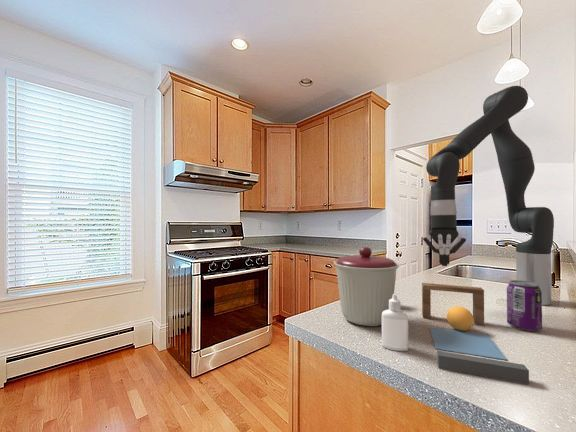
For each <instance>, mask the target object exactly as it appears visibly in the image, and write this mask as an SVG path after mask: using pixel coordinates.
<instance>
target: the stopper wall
mask: <svg viewBox="0 0 576 432" xmlns="http://www.w3.org/2000/svg"><path fill="white" fill-rule="evenodd" d="M436 355H437V356H436V360H437V362H436V363H437V367H438V369H442V370H447V371H451V372H458V373H463V374H470V375H473V376H480V377H484V378H490V379H491V378H492V379H495V380H496V379H497V380H502V381H506V382H513V383H518V384H523V385H528V384H529V385H530V370H529V369H528V368H527V366H526V365H525V364H523V363H515V362H509V361H505V360H499V359H493V358H487V357H480V356H474V355H468V354H462V353H456V352H449V351H443V350H436Z"/></svg>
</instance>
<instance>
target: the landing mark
mask: <svg viewBox="0 0 576 432" xmlns="http://www.w3.org/2000/svg"><path fill="white" fill-rule="evenodd" d="M429 330H430V335H431V337H432V341H433V344H434V348H435V350H437V351H443V352H449V353H456V354H462V355H468V356H474V357H481V358H487V359H493V360H499V361H508V358H507V357H506V355H505V354H504V353H503V352H502V351H501V350H500V348H499V347H498V346H497V344H496V343H495V342H494V340H492V338H491V337H490V336H489V334H487V333H486V334H485V333H478V332H470V331H466V330H465V331H460V330H457V329H448V328H442V327H441V328H440V327H434V326H429Z"/></svg>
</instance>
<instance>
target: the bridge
mask: <svg viewBox="0 0 576 432" xmlns="http://www.w3.org/2000/svg"><path fill="white" fill-rule="evenodd" d="M431 291H437V292H438V291H439V292H440V291H441V292H451V293H463V294H472V315H473V318H474V323H473V324H475V325H476V326H483V327H485V290H484V288H482V287H481V286H480V287H478V286H466V285H464V286H463V285H455V284H453V285H452V284H441V283H430V282H429V283H427V282H422V283H421V312H422V313H421V315H422V319H427V320H431V317H432V311H431V310H432V305H431V304H432V303H431V299H432V297H431V295H432V294H431Z"/></svg>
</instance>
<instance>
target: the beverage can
mask: <svg viewBox="0 0 576 432" xmlns="http://www.w3.org/2000/svg"><path fill="white" fill-rule="evenodd" d="M506 323H508V324H509V325H510V326H512V327H513V328H515V329H518V330H520V331H525V332H537V331H541V330H542V329H543V305H542V292H541V290H540V288H539V284H537V283H533V282H528V281H519V280H516V279H512V280H508V285H507V286H506Z"/></svg>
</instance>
